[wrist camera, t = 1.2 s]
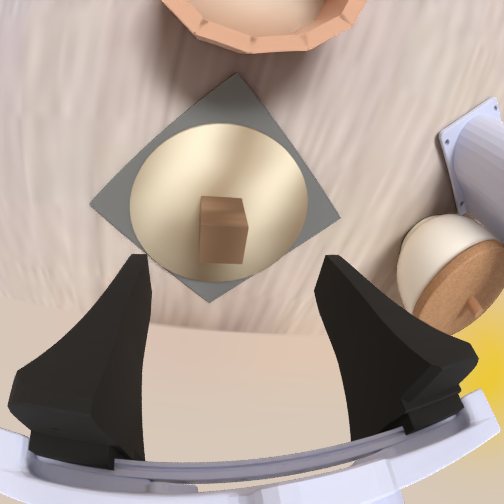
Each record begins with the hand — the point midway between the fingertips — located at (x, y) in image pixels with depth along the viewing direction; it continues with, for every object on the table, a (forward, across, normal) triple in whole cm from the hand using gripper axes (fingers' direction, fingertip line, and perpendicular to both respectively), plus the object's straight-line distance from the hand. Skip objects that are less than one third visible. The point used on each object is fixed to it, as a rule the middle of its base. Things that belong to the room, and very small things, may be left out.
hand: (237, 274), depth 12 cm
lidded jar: (+10, -19, +5) cm, 22 cm away
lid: (+9, 0, +2) cm, 9 cm away
